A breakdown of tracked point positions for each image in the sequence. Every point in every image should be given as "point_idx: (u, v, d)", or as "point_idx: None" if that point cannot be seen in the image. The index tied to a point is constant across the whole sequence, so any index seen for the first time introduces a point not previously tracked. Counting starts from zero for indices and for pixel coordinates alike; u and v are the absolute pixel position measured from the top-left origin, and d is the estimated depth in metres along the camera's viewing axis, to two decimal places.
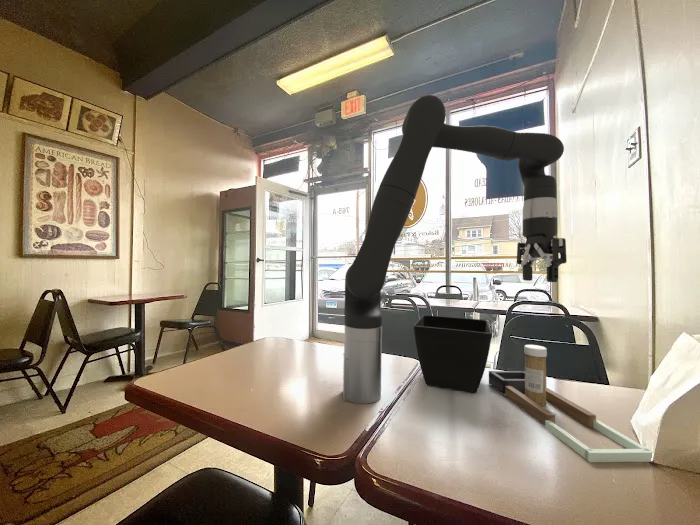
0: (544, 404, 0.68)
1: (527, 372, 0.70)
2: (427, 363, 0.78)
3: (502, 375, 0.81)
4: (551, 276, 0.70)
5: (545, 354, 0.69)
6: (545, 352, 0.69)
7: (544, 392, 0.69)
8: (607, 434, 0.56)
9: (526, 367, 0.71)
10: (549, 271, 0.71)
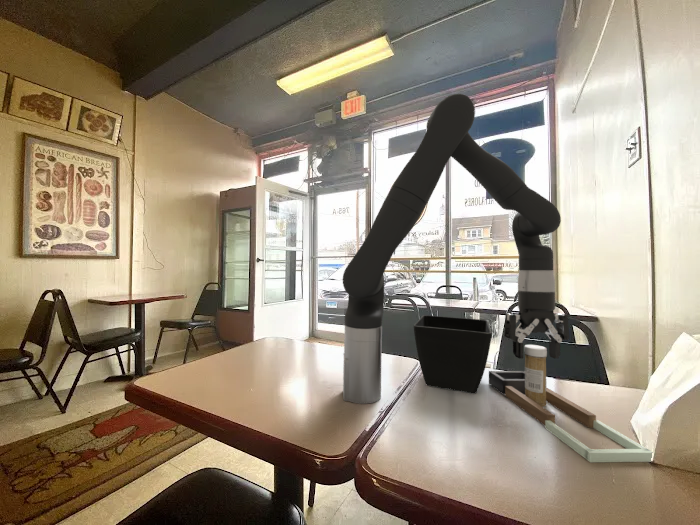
0: (544, 404, 0.68)
1: (527, 372, 0.70)
2: (427, 363, 0.78)
3: (502, 375, 0.81)
4: (558, 352, 0.70)
5: (545, 354, 0.69)
6: (545, 352, 0.69)
7: (544, 392, 0.69)
8: (607, 434, 0.56)
9: (526, 367, 0.71)
10: None
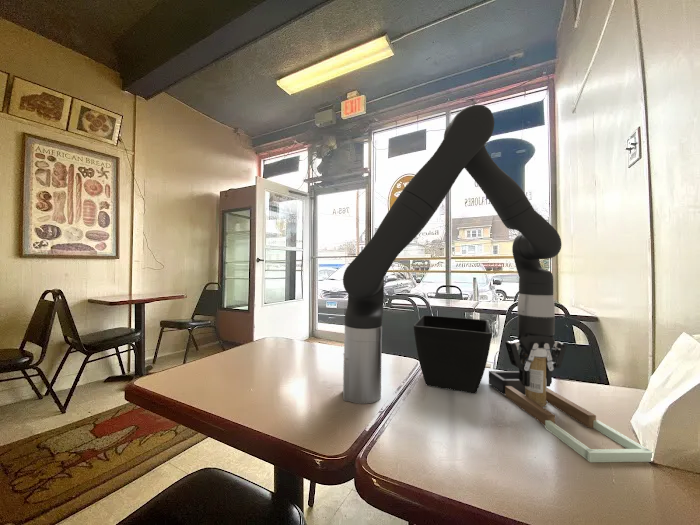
0: (544, 404, 0.68)
1: None
2: (427, 363, 0.78)
3: (502, 375, 0.81)
4: (550, 380, 0.70)
5: (545, 354, 0.69)
6: (545, 352, 0.69)
7: (544, 392, 0.69)
8: (607, 434, 0.56)
9: None
10: None
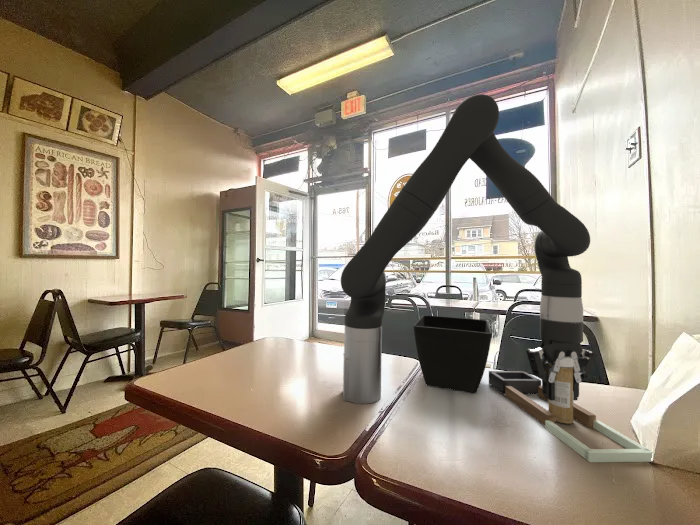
0: (571, 420, 0.60)
1: None
2: (427, 363, 0.78)
3: (502, 375, 0.81)
4: (577, 393, 0.62)
5: (572, 364, 0.61)
6: (572, 362, 0.61)
7: (571, 407, 0.61)
8: (607, 434, 0.56)
9: None
10: None
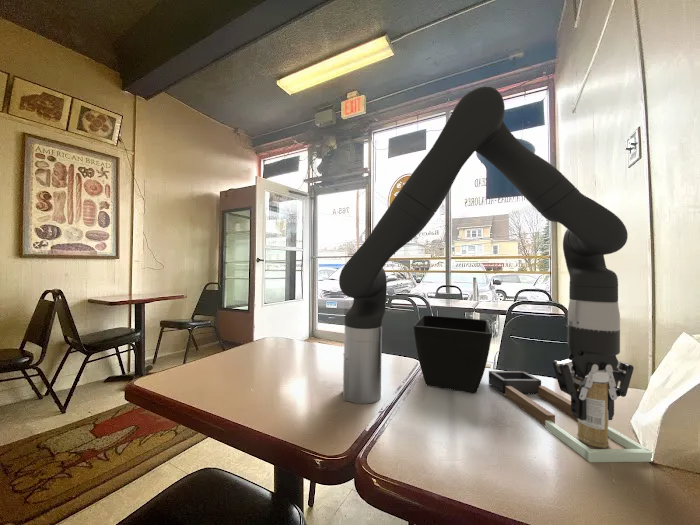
0: (606, 444, 0.52)
1: None
2: (427, 363, 0.78)
3: (502, 375, 0.81)
4: (612, 412, 0.54)
5: (607, 379, 0.53)
6: (607, 376, 0.53)
7: (606, 428, 0.53)
8: None
9: None
10: None
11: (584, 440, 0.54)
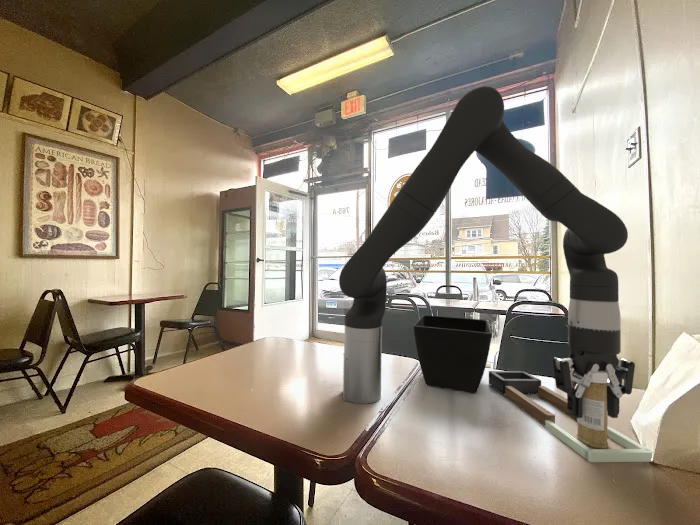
0: (606, 445, 0.52)
1: None
2: (427, 363, 0.78)
3: (502, 375, 0.81)
4: (617, 410, 0.54)
5: (606, 379, 0.53)
6: (606, 377, 0.53)
7: (605, 429, 0.53)
8: (607, 434, 0.56)
9: None
10: None
11: (584, 441, 0.54)
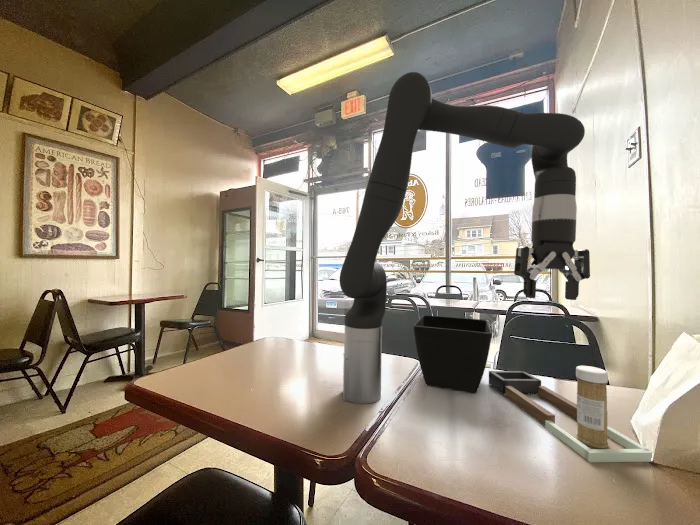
0: (606, 445, 0.52)
1: (581, 403, 0.54)
2: (427, 363, 0.78)
3: (502, 375, 0.81)
4: (576, 293, 0.60)
5: (606, 379, 0.53)
6: (606, 377, 0.53)
7: (605, 429, 0.53)
8: (607, 434, 0.56)
9: (580, 395, 0.55)
10: None
11: (584, 441, 0.54)
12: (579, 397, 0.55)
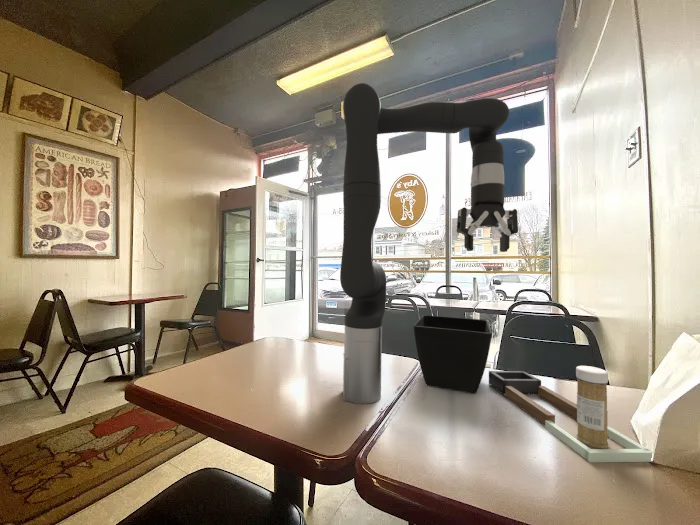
0: (606, 445, 0.52)
1: (581, 403, 0.54)
2: (427, 363, 0.78)
3: (502, 375, 0.81)
4: (508, 246, 0.72)
5: (606, 380, 0.53)
6: (607, 377, 0.53)
7: (605, 429, 0.53)
8: (607, 434, 0.56)
9: (580, 395, 0.55)
10: (506, 241, 0.72)
11: (584, 441, 0.54)
12: (579, 397, 0.55)
